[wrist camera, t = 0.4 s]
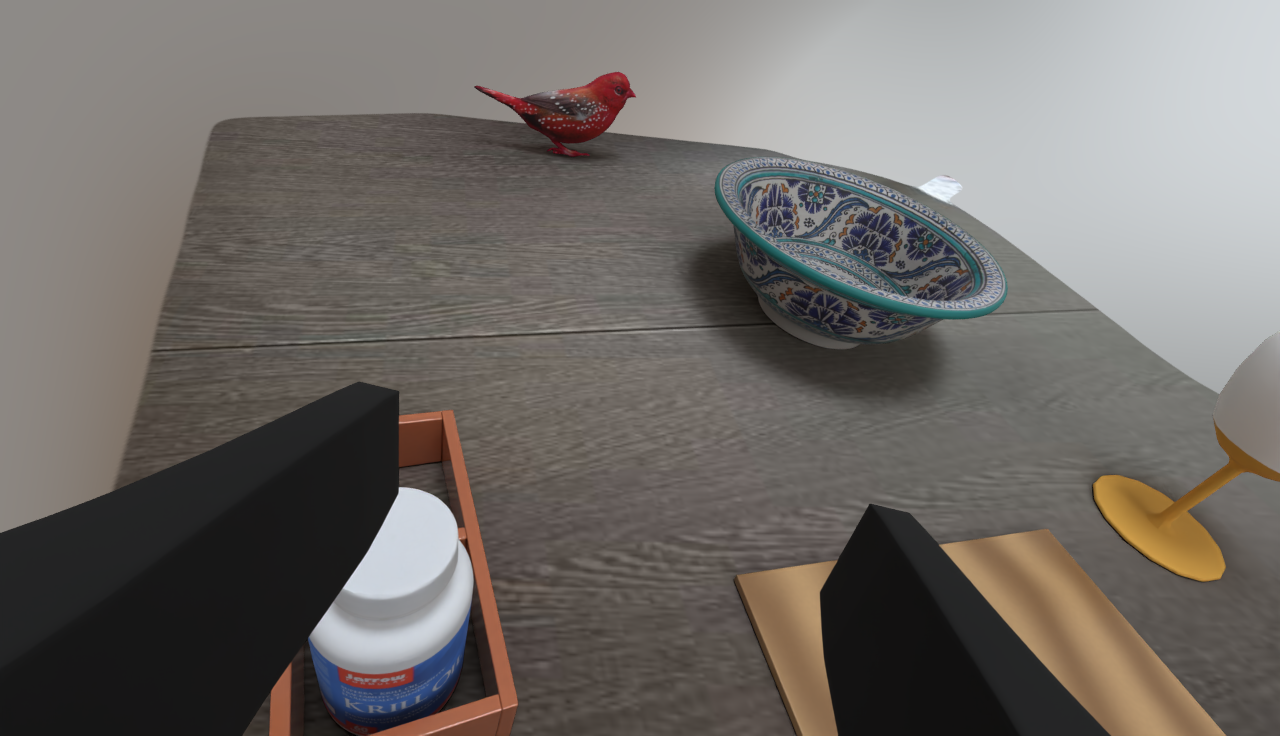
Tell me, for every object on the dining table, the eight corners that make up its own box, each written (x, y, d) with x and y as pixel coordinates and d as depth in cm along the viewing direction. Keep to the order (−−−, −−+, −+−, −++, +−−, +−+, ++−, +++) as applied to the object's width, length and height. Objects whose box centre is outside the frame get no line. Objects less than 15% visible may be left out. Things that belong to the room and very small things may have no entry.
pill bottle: (339, 773, 21) (304, 660, 15) (309, 639, 24) (270, 499, 18) (484, 698, 24) (504, 577, 18) (441, 587, 27) (446, 451, 21)
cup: (1160, 483, 47) (1361, 329, 37) (1253, 588, 41) (1530, 434, 30) (1067, 469, 46) (1251, 304, 36) (1147, 576, 39) (1403, 410, 29)
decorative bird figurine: (624, 167, 70) (644, 80, 64) (472, 149, 64) (477, 50, 57) (618, 157, 72) (637, 72, 66) (470, 138, 66) (475, 42, 59)
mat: (875, 929, 22) (882, 927, 21) (733, 579, 31) (736, 574, 31) (1243, 768, 30) (1252, 765, 30) (1042, 532, 40) (1047, 528, 39)
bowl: (864, 457, 41) (940, 355, 35) (627, 273, 52) (654, 172, 46) (978, 349, 57) (1044, 266, 51) (779, 226, 68) (813, 146, 62)
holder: (510, 737, 23) (519, 704, 21) (283, 817, 20) (266, 788, 18) (451, 452, 33) (453, 409, 31) (292, 473, 30) (281, 427, 27)
